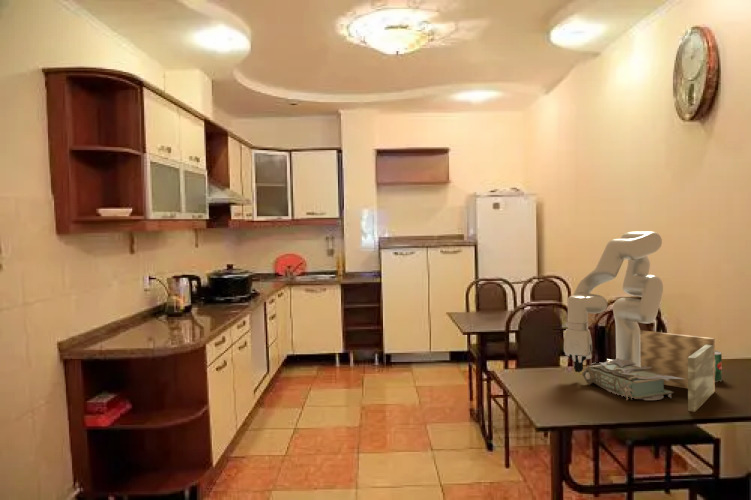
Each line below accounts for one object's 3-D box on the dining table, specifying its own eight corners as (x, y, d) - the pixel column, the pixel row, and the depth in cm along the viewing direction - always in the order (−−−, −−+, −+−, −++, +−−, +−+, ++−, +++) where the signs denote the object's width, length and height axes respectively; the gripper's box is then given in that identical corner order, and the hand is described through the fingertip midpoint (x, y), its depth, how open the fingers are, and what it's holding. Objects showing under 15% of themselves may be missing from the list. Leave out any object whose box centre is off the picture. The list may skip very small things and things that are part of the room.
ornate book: (578, 385, 208) (637, 406, 179) (577, 361, 208) (636, 378, 179) (624, 379, 214) (687, 398, 186) (623, 356, 214) (686, 371, 186)
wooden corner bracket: (616, 396, 190) (616, 342, 189) (642, 379, 210) (641, 330, 209) (695, 411, 172) (694, 352, 171) (714, 391, 192) (714, 338, 191)
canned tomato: (726, 381, 204) (726, 354, 203) (706, 382, 204) (706, 354, 203) (713, 376, 211) (713, 349, 211) (694, 376, 212) (694, 349, 211)
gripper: (555, 325, 212) (556, 370, 212) (592, 330, 201) (593, 376, 202) (564, 323, 217) (565, 366, 218) (600, 327, 206) (601, 372, 207)
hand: (578, 371), depth 210 cm, fingers closed
